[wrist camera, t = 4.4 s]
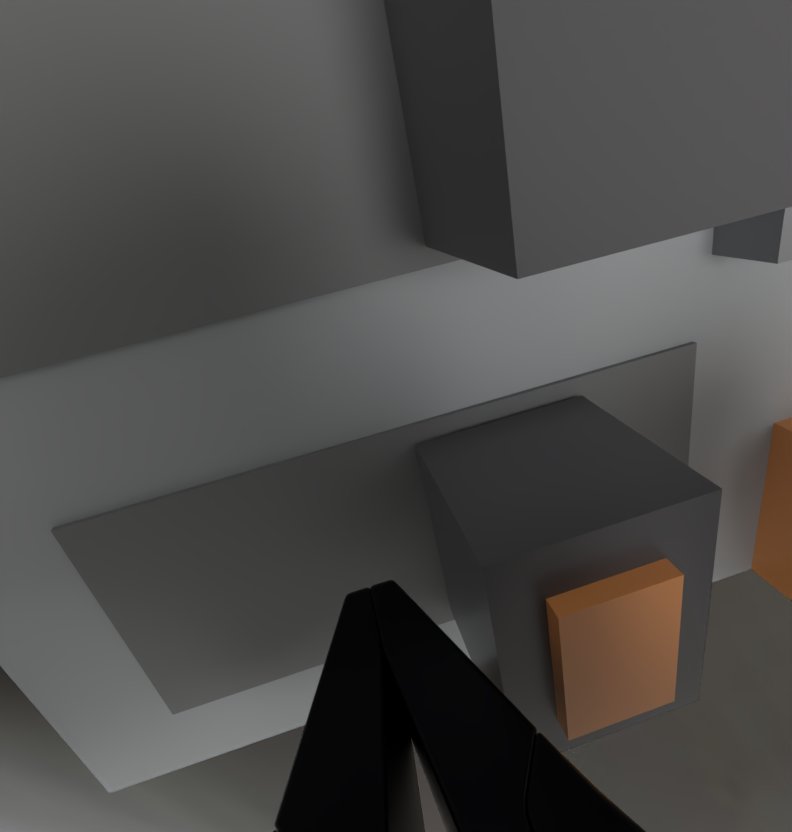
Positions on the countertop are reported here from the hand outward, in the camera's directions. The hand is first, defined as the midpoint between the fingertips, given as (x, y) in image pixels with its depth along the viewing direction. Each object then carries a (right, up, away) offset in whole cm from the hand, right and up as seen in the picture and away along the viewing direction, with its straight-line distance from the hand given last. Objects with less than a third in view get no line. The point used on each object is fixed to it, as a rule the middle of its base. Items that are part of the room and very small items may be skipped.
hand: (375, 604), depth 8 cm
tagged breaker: (+3, +1, +1) cm, 3 cm away
